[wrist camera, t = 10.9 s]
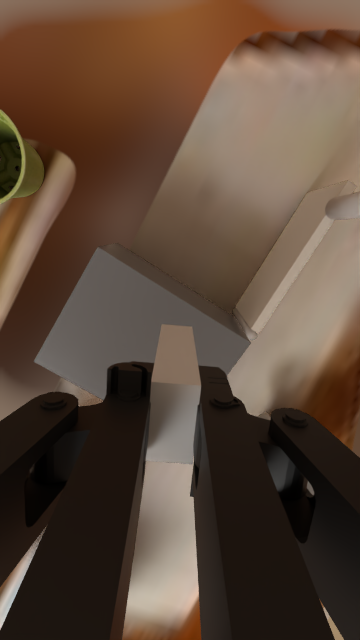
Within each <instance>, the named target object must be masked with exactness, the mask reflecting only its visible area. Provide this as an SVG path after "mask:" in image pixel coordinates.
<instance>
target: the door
mask: <svg viewBox="0 0 360 640" xmlns="http://www.w3.org/2000/svg"><path fill="white" fill-rule="evenodd" d="M356 188H357V185H355V184H354V183H352V182H351V181H349V180H347V181H344V182H340V183H337V184H334V185H330V186H327V187H324V188H321V189H317V190H314V191H311V192H307V194H306V195H305V197H304V198H303V200H302V202H301V203H300V205H299V206H298V208H297V210H296V211H295V213H294V214H293V216H292V217H291V219H290V221H289V222H288V224H287V225H286V227H285V229H284V230H283V232H282V233H281V235H280V236H279V238H278V240H277V241H276V243H275V244H274V246H273V248H272V249H271V251H270V252H269V254H268V255H267V257H266V259H265V260H264V262H263V263H262V265H261V267H260V268H259V270H258V271H257V273H256V275H255V276H254V278H253V279H252V281H251V282H250V284H249V286H248V287H247V289H246V290H245V292H244V294H243V295H242V297H241V298H240V300H239V301H238V303H237V305H236V306H235V307H236V308H235V309H233V314H234V316H235V318H236V319H237V321H238V322H239V324H240V326H241V327H242V329H243V331H244V332H245V334H246V336H247V337H248V339H250V340H255V339H256V338H257V333H260V332H261V330H262V329H263V327H264V326H265V324H266V323H267V321H268V320H269V318H270V317H271V315H272V314H273V312H274V311H275V309H276V308H277V306H278V305H279V303H280V302H281V300H282V299H283V297H284V296H285V294H286V293H287V291H288V290H289V288H290V287H291V285H292V284H293V282H294V281H295V279H296V278H297V276H298V275H299V273H300V272H301V270H302V269H303V267H304V266H305V264H306V263H307V261H308V260H309V258H310V257H311V255H312V254H313V252H314V251H315V249H316V248H317V246H318V245H319V243H320V242H321V240H322V239H323V237H324V236H325V234H326V233H327V231H328V230H329V228H330V227H331V225H332V224H333V222H334V221H335V220H344V219H358V218H360V192H357V193H353V192H354V191H355V189H356ZM256 332H257V333H256Z"/></svg>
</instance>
